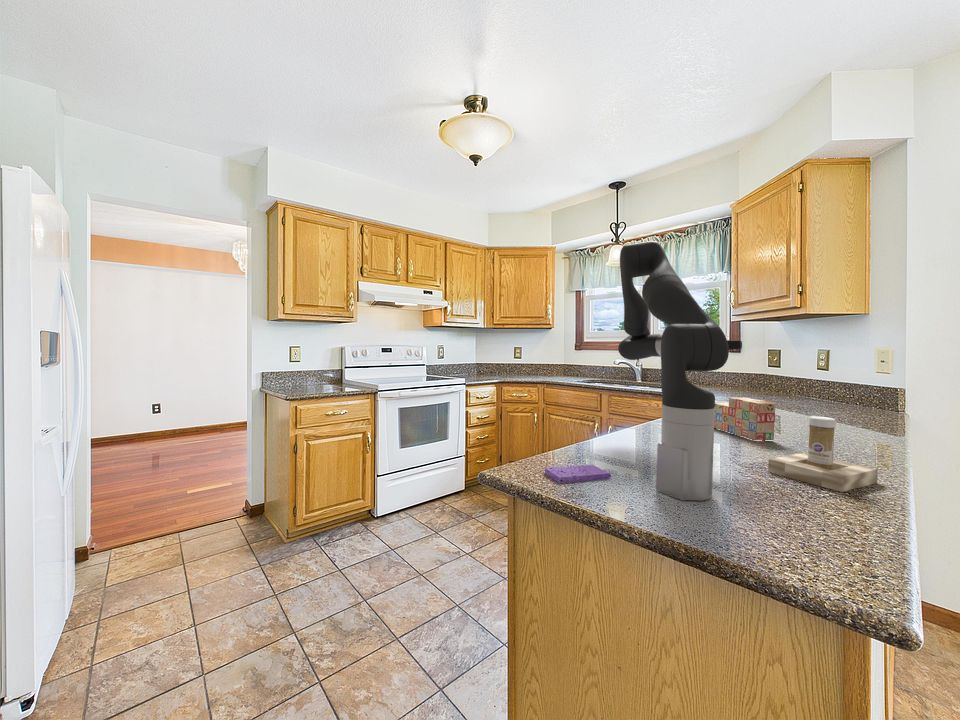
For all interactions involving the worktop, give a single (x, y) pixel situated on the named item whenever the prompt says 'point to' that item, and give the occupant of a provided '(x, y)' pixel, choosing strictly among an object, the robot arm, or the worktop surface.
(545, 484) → the worktop surface
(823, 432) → the sprinkles bottle
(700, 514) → the worktop surface
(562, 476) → the sponges
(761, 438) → the stack of blocks
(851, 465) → the birch socket board
